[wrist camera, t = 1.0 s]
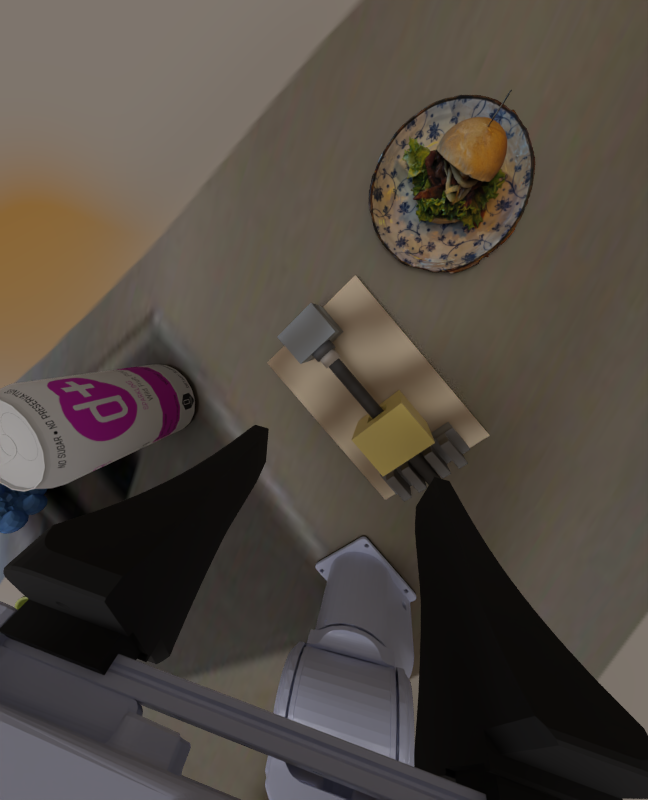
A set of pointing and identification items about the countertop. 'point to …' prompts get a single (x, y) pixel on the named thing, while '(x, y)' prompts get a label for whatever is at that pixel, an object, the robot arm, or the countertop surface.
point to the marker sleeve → (392, 434)
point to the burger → (452, 183)
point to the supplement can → (86, 422)
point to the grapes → (19, 507)
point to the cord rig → (371, 384)
